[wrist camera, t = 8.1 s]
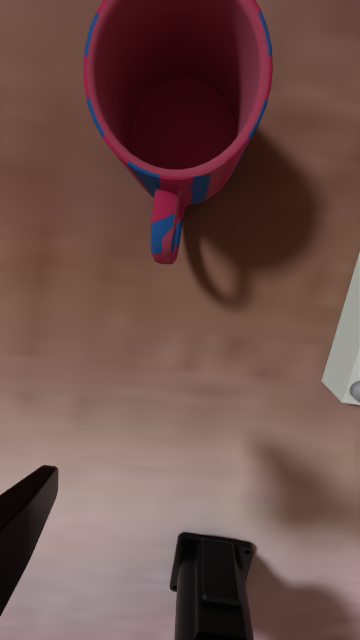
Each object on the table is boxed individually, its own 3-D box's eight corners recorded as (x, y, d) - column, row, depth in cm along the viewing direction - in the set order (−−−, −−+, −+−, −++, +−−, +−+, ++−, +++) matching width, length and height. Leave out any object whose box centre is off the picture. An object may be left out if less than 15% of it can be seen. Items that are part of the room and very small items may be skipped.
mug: (255, 94, 15) (301, -19, 9) (208, 269, 18) (217, 282, 11) (139, 64, 15) (98, -73, 9) (109, 245, 18) (60, 243, 11)
